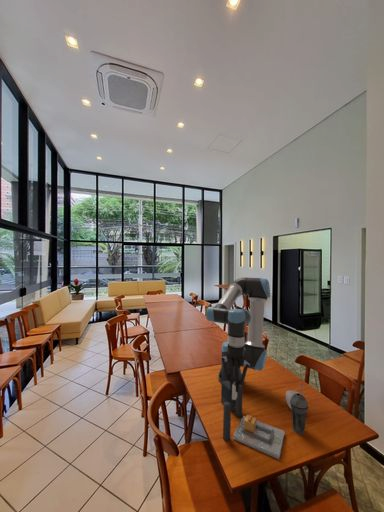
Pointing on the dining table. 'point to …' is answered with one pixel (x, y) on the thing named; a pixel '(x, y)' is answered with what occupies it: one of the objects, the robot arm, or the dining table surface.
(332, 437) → the dining table surface
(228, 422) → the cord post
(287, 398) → the cup
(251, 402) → the dining table surface
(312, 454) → the dining table surface
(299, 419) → the beverage cup
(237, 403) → the cord post
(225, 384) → the box
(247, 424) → the block
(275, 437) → the breaker panel
